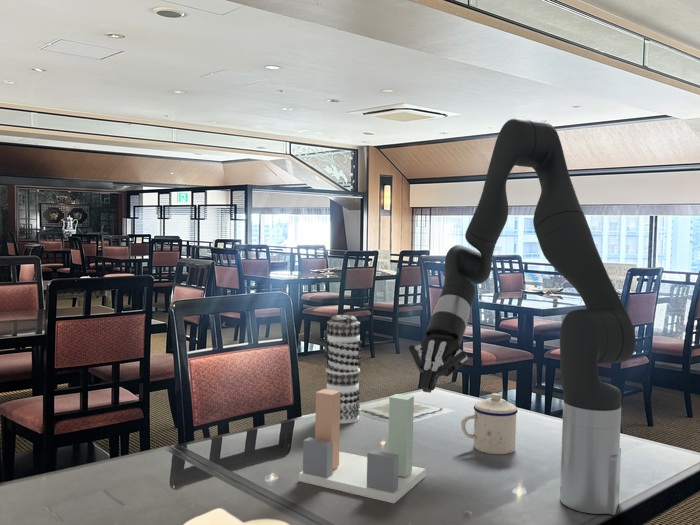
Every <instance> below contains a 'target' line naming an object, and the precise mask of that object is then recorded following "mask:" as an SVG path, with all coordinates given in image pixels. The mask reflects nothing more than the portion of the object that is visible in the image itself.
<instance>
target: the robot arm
mask: <svg viewBox="0 0 700 525" xmlns="http://www.w3.org/2000/svg"><path fill="white" fill-rule="evenodd" d="M515 166H517V167H523V168H526V167H527V168H532V169H533V170H534V171H535V173H536V176H537V179H538V182H539V184H540V190H541V191H540V196H539V199H538V201H537V203H536V206H535V210H534V213H533V214H534V215H533V221H532V222H533V227H534V232H535V236H536V238H537V241H538V243H539V244H538V245H539V247H540V250H541V252H542V254H543V256H544V258H545V260H547V261H548V263H549V264H550V265H551V267H553V268H554V269H555V270H556V272H558V273H559V274H560V276H562V277H563V278H564V279H565V280H566V281H567V282H568V283H569V284H570V285H571V286H572V287H573V288H574V289H575V291H576V292H577V293H578V294H579V295H580V297H581V300H582V301H583V303H584V305H585V307H586V309H585V308H584V309H582V308H581V309H574V310H571V311H569V312H568V313H566V314H565V316H564V318H563V319H562V323H561V324H560V332H559V361H560V362H559V364H560V365H559V366H560V367H559V368H560V370H559V373H560V383H561V388H562V392H563V396H562V397H563V402H562V404H563V405H562V428H561V429H562V430H561V431H562V432H561V452H560V453H561V454H560V455H561V458H560V479H559V480H560V484H559V501H560V502H561V503H562V504H563V505H564V506H565V507H568V508H569V509H572V510H575V511H578V512H581V513H585V514H593V515H594V514H595V515H604V514H605V515H607V514H608V515H613V516H616V513H617V509H618V508H619V507H618V506H619V503H620V485H621V484H620V483H621V460H622V459H621V458H622V448H621V447H620V446H621V445H620V444H621V421H622V415H621V414H622V400H623V399H622V398H623V397H622V391H621V390H620V389H619V388H618V387H617V386H615V385H612V384H610V383H607V382H604V381H603V380H601V379H600V376H599V375H600V374H599V365H605V364H619V363H625V362H627V361H629V360H630V359H631V358H632V357H633V355H634V353H635V350H636V346H637V345H636V341H637V339H636V333H635V332H636V331H635V329H634V324H633V322H632V319H631V317H630V316H629V314H628V311H627V309H626V307H625V306H624V304H623V301H622V299H621V298H620V296H619V294H618V292H617V290H616V288H615V286H614V284H613V283H612V281H611V279H610V276H609V274H608V272H607V270H606V267H605V265H604V263H603V260H602V257H601V255H600V253H599V250H598V248H597V245H596V243H595V241H594V237H593V234H592V232H591V229H590V225H589V223H588V221H587V218H586V216H585V214H584V211H583V208H582V207H581V204H580V202H579V199H578V197H577V194H576V191H575V188H574V185H573V182H572V179H571V177H570V174H569V170H568V166H567V162H566V158H565V155H564V150H563V146H562V142H561V139H560V136H559V134H558V131H557V129H556V128H555V126H553V125H552V124H551V123H548V122H545V121H540V120H539V121H538V120H533V119H527V118H518V117H517V118H511V119H508V120H507V121H506V122H505V123H504V124H503V125H502V127H501V128H500V131H499V133H498V135H497V137H496V140H495V144H494V147H493V150H492V155H491V157H490V162H489V165H488V169H487V173H486V176H485V181H484V185H483V188H482V192H481V195H480V198H479V201H478V204H477V206H476V209H475V210H474V213H473V215H472V218H471V219H470V222H469V224H468V226H467V228H466V231H465V234H464V236H465V237H464V238H465V240H466V242H467V243H468V244H469V245H470V246H472V248H474V249H472V248H469V247H467V246H464V245H461V244H456V245H453V246H452V247H450V249H449V250H448V251H447V253H446V255H445V260H444V284H443V287H442V290H441V294H440V296H439V298H438V301H437V303H436V305H435V307H434V310H433V312H432V314H431V318H430V320H429V324H428V326H427V329H426V333H425V335H424V337H423V339H422V340H421V341H420V344H418V345H416V346H415V345H409V346H408V350H409V352H410V354H411V358H413V360H414V363H415V365H416V367H417V370H418V371H419V373H421V374H422V375H421V378H420V381H419V385H420V387H421V390H422V391H423V392H424V393H430V394H431V393H432V391H434V390H435V388H436V386H437V384H438V380H439V378H440V377H443V376H444V377H446V378H447V377H449V376H451V375H452V374H453V373H454V372H456V371H457V370H459V369H460V368H461V367H463V366H464V365H466V364H467V363H468V362H469V359H468V355H467V353H466V351H463V350H462V346H461V344H462V342H463V337H464V335H465V331H466V328H467V326H468V324H469V318H470V312H471V308H472V305H473V302H474V300H475V299H474V298H475V296H476V287H475V286H474V285H482V284H483V283H485V282H487V280H488V279H489V278H490V274H491V272H492V267H493V266H492V264H493V256H494V251H495V247H496V245H497V242H498V240H499V238H500V237H501V234H502V233H503V232H502V231H504V230H503V229H504V228H505V227H506V223H507V221H508V217H509V202H508V196H507V182H508V178H509V176H510V173H511V172H512V171H513V168H514V167H515ZM475 249H476V250H475ZM422 352H423V354H424V356H425V359H424V360H425V362H424V363H423V361H422V359H421V358H420V357H422Z"/></svg>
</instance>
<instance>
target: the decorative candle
mask: <svg viewBox="0 0 700 525" xmlns="http://www.w3.org/2000/svg"><path fill="white" fill-rule="evenodd" d="M326 324H327V325H328V333H327V337H326V338H324V341H323V343H325V345H326V346H325V347H324V352H325V353H324V358H325V359H326V361H325V362H324V364H325V365H324V366H325V372H326V373H327V376H326V377H327V380H326V389H328V390H334V391H340V424H354V423H355V422H359V421H360V416H359V415H360V412H361V411H360V408H361V405H360V403H359V401H360V398H361V397H360V396H359V395H360V393H361V390H360V388H359V387H360V386H359V385H360V384H359V383H360V382H359V373H360V372H361V368H360V367H359V366H361V365H362V362H361V361H359V360H361V359H362V356H361V355H360V354H359V352H361V351H362V350H363V348H362V347H361V345H362V344H363V341H362V340H361V339H360V338H361V335H360V324H361V321H358V319H357V317H356V316H354V315H351V314H350V315H349V314H337V315H333V316H331V317H330V320H328V321H327V322H326Z"/></svg>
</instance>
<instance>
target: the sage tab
mask: <svg viewBox="0 0 700 525" xmlns="http://www.w3.org/2000/svg"><path fill="white" fill-rule="evenodd" d="M414 399H415V396H414V395H406V394H401V393H395V394H393V395H391V396H389V400H388V401H389V404H388V405H389V407H388V442H387V443H388V444H387V446H388V447H387V448H388V451H387V453H392V454H398V455H399V466H398V476H402V477H406V476H408V475H409V474H410V473H411V472H412V466H413V453H414V452H413V448H414V410H415V408H414V407H415V400H414Z"/></svg>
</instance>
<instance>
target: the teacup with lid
mask: <svg viewBox="0 0 700 525" xmlns="http://www.w3.org/2000/svg"><path fill="white" fill-rule="evenodd" d="M501 397H502V396H501V394H500V393H491V394H490V397H487V398H486V399H484V400H480V401H477V402H475V403H474V405H473V409H474V414H468V415H465V416H464V417H463V419H462V420H461V422H460V428H461V431H462V432H463V435H464V436H466V438H469V439H473V447H474V448H475V449H476V450H478V451H479V452H482V453H484V452H485V454H489V455H498V454H500V455H508V453H509V454H512V453H513V452H514V451H515V450H516V433H517V432H516V431H517V413H518V409H517V406H516V405H515V404H513V403H511V402H508V401H507V400H505V399H504V398H501ZM469 420H474V423H473V424H474V425H473V426H474V427H473V434H470V433H469V432H468V431H467V429H466V424H467V422H468V421H469Z"/></svg>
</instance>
